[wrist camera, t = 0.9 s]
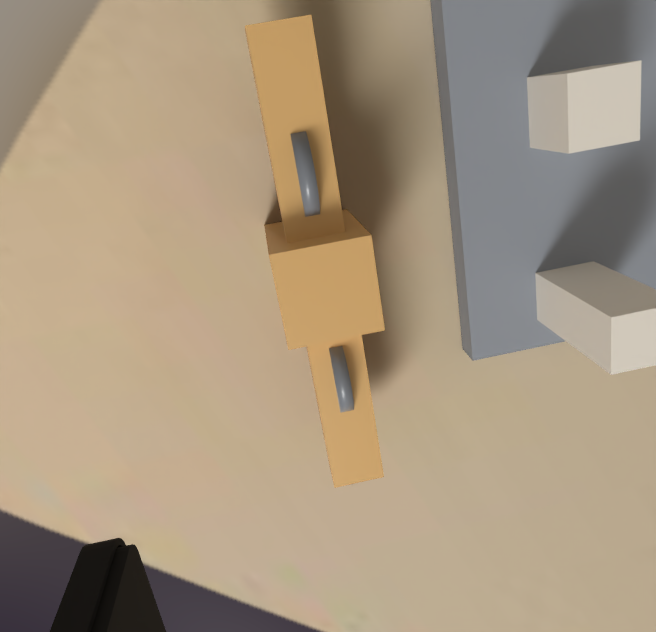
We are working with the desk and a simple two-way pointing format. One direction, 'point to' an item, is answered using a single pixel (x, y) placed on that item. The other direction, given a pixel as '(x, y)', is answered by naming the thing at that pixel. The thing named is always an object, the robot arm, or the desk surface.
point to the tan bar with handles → (318, 246)
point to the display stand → (552, 173)
